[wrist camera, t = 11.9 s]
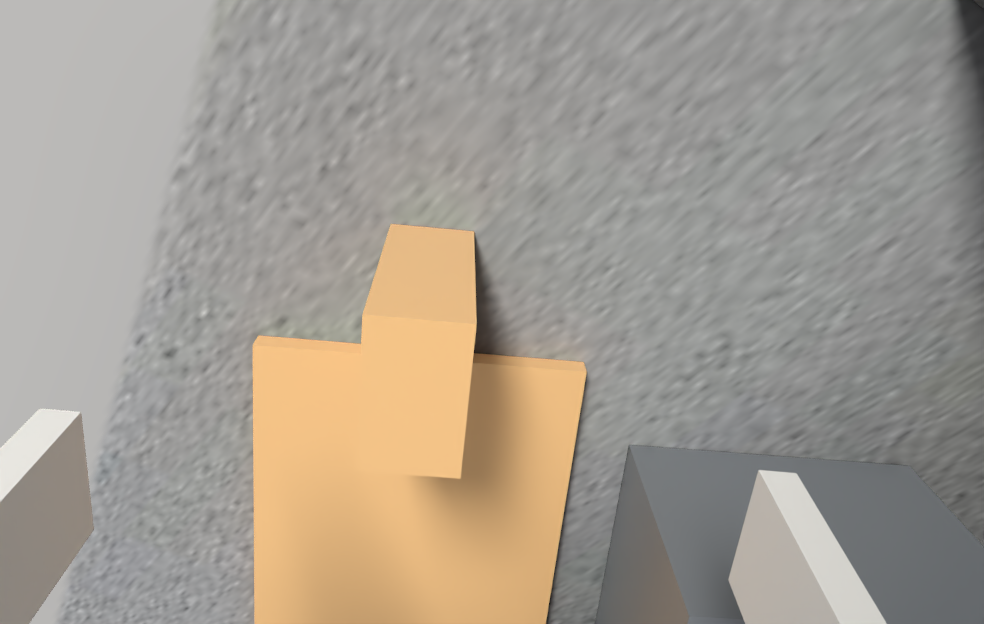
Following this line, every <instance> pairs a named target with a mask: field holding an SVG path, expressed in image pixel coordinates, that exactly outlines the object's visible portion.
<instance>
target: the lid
mask: <svg viewBox="0 0 984 624" xmlns="http://www.w3.org/2000/svg"><path fill="white" fill-rule="evenodd" d="M476 326H477V318H476V282H475V245H474V231H464V230H453V229H442V228H431V227H420V226H409V225H398V224H391V225H390V228H389V231H388V235H387V238H386V241H385V244H384V247H383V251H382V254H381V257H380V260H379V263H378V267H377V270H376V273H375V276H374V280H373V283H372V286H371V289H370V292H369V296H368V299H367V302H366V305H365V308H364V312H363V316H362V337H361V344H356V343H344V342H331V341H319V340H307V339H295V338H282V337H270V336H258V337H257V339H256V340H255V342H254V344H253V455H254V601H255V624H546V619H547V613H548V607H549V601H550V594H551V588H552V582H553V576H554V570H555V564H556V558H557V551H558V545H559V539H560V533H561V527H562V521H563V515H564V508H565V502H566V496H567V490H568V484H569V478H570V472H571V465H572V459H573V453H574V447H575V441H576V435H577V429H578V422H579V416H580V410H581V404H582V398H583V392H584V386H585V379H586V373H587V371H586V368H585V365H584V362H576V361H564V360H552V359H540V358H527V357H515V356H503V355H491V354H478V353H474V345H475V335H476Z"/></svg>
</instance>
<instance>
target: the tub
mask: <svg viewBox="0 0 984 624" xmlns="http://www.w3.org/2000/svg"><path fill="white" fill-rule="evenodd" d="M758 470H765V471H777V472H788V473H797V475H798V477H799V478H800V480H801V482H802V483H803V485H804V487H805V488H806V490H807V492H808V493H809V495H810V497H811V498H812V500H813V502H814V503H815V505H816V507H817V508H818V510H819V512H820V513H821V515H822V517H823V518H824V520H825V521H826V523H827V525H828V526H829V528H830V530H831V531H832V533H833V535H834V536H835V538H836V540H837V541H838V543H839V545H840V546H841V548H842V550H843V551H844V553H845V555H846V556H847V558H848V560H849V561H850V563H851V565H852V566H853V568H854V570H855V571H856V573H857V575H858V576H859V578H860V580H861V581H862V583H863V585H864V586H865V588H866V590H867V591H868V593H869V595H870V596H871V598H872V600H873V601H874V603H875V605H876V606H877V608H878V610H879V611H880V613H881V615H882V616H883V618H884V620H885V621H886V623H887V624H984V547H983V546H982V544H981V543H980V542H979V541H978V540H977V539H976V538H975V537H974V536H973V535H972V534H971V532H970V531H969V530H968V529H967V528H966V527H965V526H964V525H963V524H962V523H961V522H960V520H959V519H958V518H957V517H956V516H955V515H954V514H953V513H952V512H951V511H950V510H949V508H948V507H947V506H946V505H945V504H944V503H943V502H942V501H941V500H940V499H939V497H938V496H937V495H936V494H935V493H934V492H933V491H932V490H931V489H930V488H929V487H928V485H927V484H926V483H925V482H924V481H923V480H922V479H921V478H920V477H919V476H918V475H917V473H916V472H915V471H914V470H913V469H912V468H911V467H910V466H905V465H891V464H878V463H865V462H851V461H838V460H825V459H811V458H798V457H785V456H771V455H758V454H745V453H731V452H718V451H704V450H691V449H678V448H664V447H651V446H638V445H629V448H628V453H627V458H626V463H625V469H624V474H623V479H622V484H621V490H620V495H619V500H618V506H617V511H616V516H615V521H614V527H613V532H612V537H611V542H610V548H609V553H608V558H607V563H606V569H605V574H604V579H603V585H602V590H601V595H600V600H599V606H598V611H597V616H596V621H595V624H745V622H744V619H743V617H742V614H741V611H740V609H739V606H738V604H737V601H736V598H735V596H734V593H733V591H732V588H731V586H730V583H729V580H728V579H729V575H730V572H731V568H732V564H733V561H734V557H735V553H736V550H737V546H738V543H739V539H740V535H741V532H742V528H743V524H744V521H745V517H746V513H747V510H748V506H749V503H750V499H751V495H752V492H753V488H754V484H755V481H756V477H757V474H758Z"/></svg>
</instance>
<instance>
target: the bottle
mask: <svg viewBox="0 0 984 624" xmlns="http://www.w3.org/2000/svg"><path fill="white" fill-rule="evenodd" d="M973 1H974V2H975V3H977V4H978V5H979V6H980V7H982V8H983V9H984V0H973Z"/></svg>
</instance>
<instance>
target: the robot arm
mask: <svg viewBox="0 0 984 624" xmlns="http://www.w3.org/2000/svg"><path fill="white" fill-rule="evenodd" d="M93 530H94V526H93V516H92V507H91V498H90V489H89V480H88V471H87V462H86V453H85V444H84V434H83V425H82V416H81V412H75V411H63V410H51V409H39V410H38V411H37V412H36V413H35V414H34V415H33V416H32V417H31V418H30V419H29V420H28V421H27V422H26V423H25V424H24V425H23V426H22V427H21V428H20V429H19V430H18V431H17V432H16V433H15V434H14V435H13V436H12V437H11V438H10V439H9V440H8V441H7V442H6V443H5V444H4V445H3V446H2V447H1V448H0V624H29V623H30V621H31V620H32V618H33V617H34V616H35V614H36V613H37V611H38V610H39V608H40V607H41V605H42V604H43V602H44V601H45V600H46V598H47V597H48V595H49V594H50V592H51V591H52V590H53V588H54V587H55V585H56V584H57V582H58V581H59V579H60V578H61V576H62V575H63V574H64V572H65V571H66V569H67V568H68V566H69V565H70V563H71V562H72V561H73V559H74V558H75V556H76V555H77V553H78V552H79V550H80V549H81V548H82V546H83V545H84V543H85V542H86V540H87V539H88V537H89V536H90V534H91V533H92V532H93ZM728 580H729V583H730V586H731V588H732V591H733V593H734V596H735V598H736V601H737V604H738V606H739V609H740V611H741V614H742V617H743V619H744V622H745V624H887V623H886V621H885V620H884V618H883V616H882V615H881V613H880V611H879V610H878V608H877V606H876V605H875V603H874V601H873V600H872V598H871V596H870V595H869V593H868V591H867V590H866V588H865V586H864V585H863V583H862V581H861V580H860V578H859V576H858V575H857V573H856V571H855V570H854V568H853V566H852V565H851V563H850V561H849V560H848V558H847V556H846V555H845V553H844V551H843V550H842V548H841V546H840V545H839V543H838V541H837V540H836V538H835V536H834V535H833V533H832V531H831V530H830V528H829V526H828V525H827V523H826V521H825V520H824V518H823V517H822V515H821V513H820V512H819V510H818V508H817V507H816V505H815V503H814V502H813V500H812V498H811V497H810V495H809V493H808V492H807V490H806V488H805V487H804V485H803V483H802V482H801V480H800V478H799V477H798V475H797V473H788V472H777V471H765V470H758V474H757V477H756V481H755V484H754V488H753V492H752V495H751V499H750V503H749V506H748V510H747V513H746V517H745V521H744V524H743V528H742V532H741V535H740V539H739V543H738V546H737V550H736V553H735V557H734V561H733V564H732V568H731V572H730V575H729V579H728Z"/></svg>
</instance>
